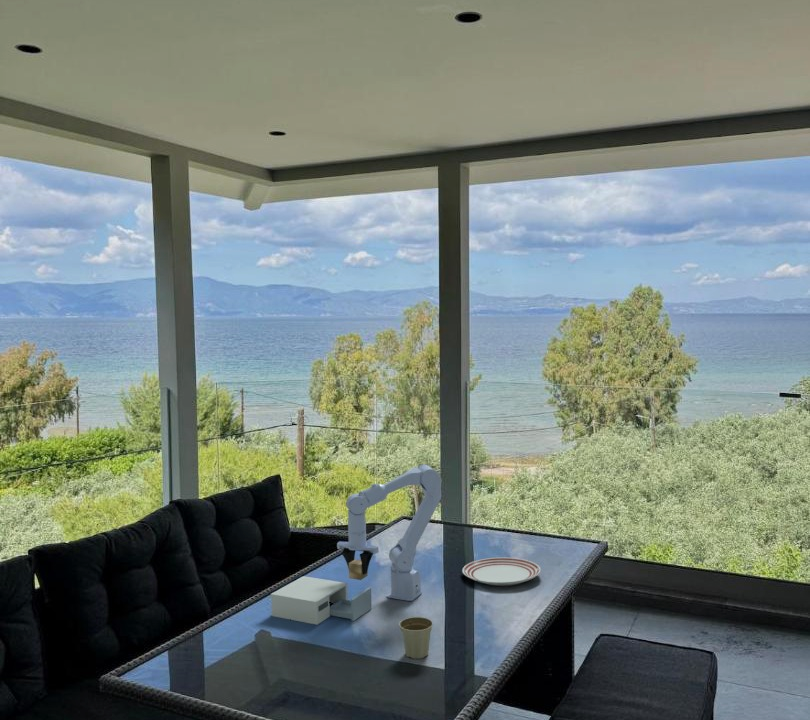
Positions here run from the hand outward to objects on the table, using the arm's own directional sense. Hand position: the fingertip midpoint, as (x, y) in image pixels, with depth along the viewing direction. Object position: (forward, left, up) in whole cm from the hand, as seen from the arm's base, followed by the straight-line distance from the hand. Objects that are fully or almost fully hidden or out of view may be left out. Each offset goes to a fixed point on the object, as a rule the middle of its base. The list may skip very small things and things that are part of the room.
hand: (358, 572), depth 252 cm
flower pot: (-35, +29, -10) cm, 46 cm away
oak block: (0, 0, -2) cm, 2 cm away
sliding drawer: (-1, +11, -9) cm, 14 cm away
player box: (+10, +14, -9) cm, 19 cm away
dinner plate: (-35, -39, -10) cm, 54 cm away
